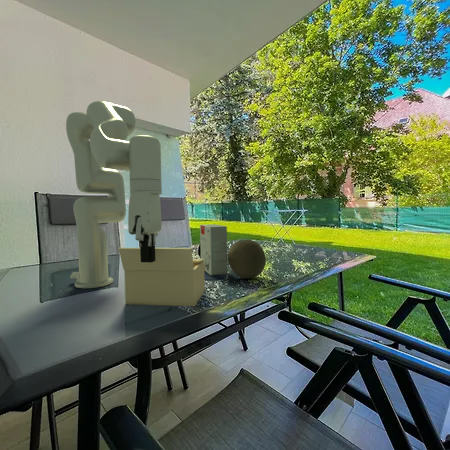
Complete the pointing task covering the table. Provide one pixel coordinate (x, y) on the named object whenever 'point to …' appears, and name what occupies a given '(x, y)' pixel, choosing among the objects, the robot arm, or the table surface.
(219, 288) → the table surface
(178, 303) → the cardboard box
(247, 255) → the cantaloupe
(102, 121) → the robot arm
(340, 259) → the table surface
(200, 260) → the back flap
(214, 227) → the hard drive box
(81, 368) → the table surface
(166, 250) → the front flap
